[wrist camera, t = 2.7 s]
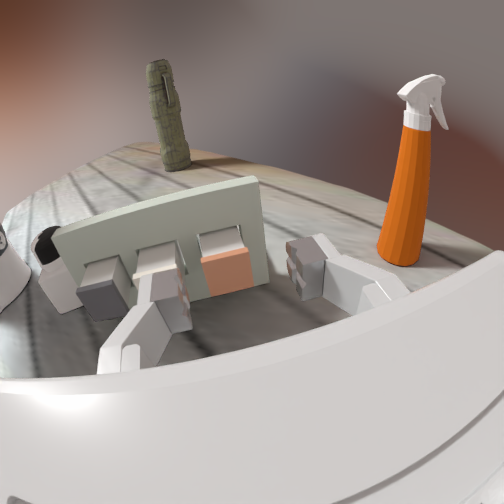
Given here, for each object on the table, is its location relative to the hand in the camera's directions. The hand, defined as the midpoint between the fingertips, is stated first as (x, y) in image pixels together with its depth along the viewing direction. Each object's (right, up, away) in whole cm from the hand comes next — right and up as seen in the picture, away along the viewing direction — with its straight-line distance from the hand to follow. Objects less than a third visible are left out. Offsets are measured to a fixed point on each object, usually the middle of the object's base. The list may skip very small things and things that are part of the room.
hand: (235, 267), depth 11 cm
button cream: (-9, -3, +20) cm, 22 cm away
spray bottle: (+24, +1, +27) cm, 36 cm away
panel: (-10, -4, +27) cm, 29 cm away
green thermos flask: (-22, +27, +70) cm, 79 cm away
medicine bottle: (-28, -7, +27) cm, 39 cm away
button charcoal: (-16, -4, +20) cm, 26 cm away
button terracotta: (-2, -1, +21) cm, 21 cm away
